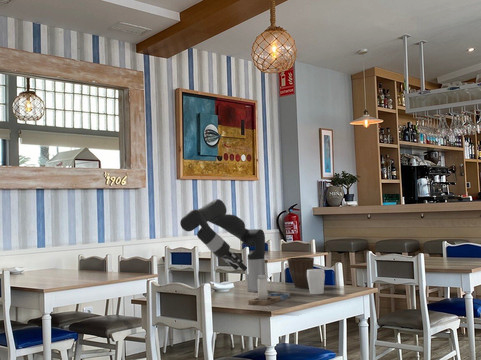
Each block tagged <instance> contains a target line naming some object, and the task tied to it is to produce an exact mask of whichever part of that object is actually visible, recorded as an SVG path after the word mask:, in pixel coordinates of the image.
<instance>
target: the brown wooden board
mask: <svg viewBox="0 0 481 360" xmlns="http://www.w3.org/2000/svg"><path fill="white" fill-rule="evenodd" d="M290 298H291V293H289V292H288V293H287V292H272V293H269V294H268V300H258V297H255V298H252V299H249V300H247V301H248V302H247V303H248V305H249V306H250V305H251V306H268V305H271V304H275V303H277V302H279V301H283V300H286V299H290Z"/></svg>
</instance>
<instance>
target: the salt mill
mask: <svg viewBox="0 0 481 360" xmlns="http://www.w3.org/2000/svg"><path fill="white" fill-rule="evenodd" d="M257 281H258V292H257V298H258V300H268V278H267V275H266V274H265V275H258V279H257Z"/></svg>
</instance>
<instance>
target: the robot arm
mask: <svg viewBox="0 0 481 360" xmlns="http://www.w3.org/2000/svg"><path fill="white" fill-rule="evenodd" d="M208 222H209V223H210V224H213V225H214V226H218V227H220V228H222V229H223V230H225V231H226V232H227V233H229V234H230V235H233V236H234V237H236V238H237V239H239V240H240V241H241V242H242V243H243V244H244V245H245V246H248V247H254V250H253V251H252V252H250V253H248V254H247V265H245V264H244V263H243V262H244V260H243V259H241V258H240V257H239V256H238V255H237V253H235V252H232V251H230V249H231V245H229V243H228V242H226V241H225V240H224V239H223V237H221V236H220V234H218V233H217V232H215V230H214V229H212V228H211V226H210V225H209V224H208ZM179 223H180V225H179V226H180V227H181V229H182V230H184V231H185V232H192V231H194V230H195V229H196V228H198V227H200V228H199V230H198V232H197V233H196V237H197V238H198V239H199V240H200V241H201V242H202V244H204V245H205V246H206V248H208V250H209V251H210V252H212V253H213V255H214V256H215V257H217V258H218V259H221V260H223V262H225V264H228V265H229V266H231V268H233V269H234V270H235V271H237V270H238V269H241V270H242V271H243V272H246V271H247V273H246V286H247V292H251V293H253V292H257V293H258V281H257V279H258V275H266V265H265V264H266V261H265V254H266V235H265V232H264V230H263V229H261V228H260V229H258V228H257V229H256V228H255V229H248V228H246V224H245V222H244V221H243V219H241V218H240V217H239V216H237V215H235V214H231V213H229V214H227V207H226V204H225V202H223V200H221V199H220V198H216V199H213V200H211V201H210V202H208V203H205V204H204V205H203V206H202V207H201V208H198V209H197V208H193V209H191V210H190V211H189V212H187V214H185V215H184V216H183V217H182V218H181V219H180V221H179Z"/></svg>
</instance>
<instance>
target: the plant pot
mask: <svg viewBox="0 0 481 360" xmlns="http://www.w3.org/2000/svg"><path fill="white" fill-rule="evenodd" d="M286 260H287V265H288V270H289V274H290V277H291V280H292V282H293V285H294V287H295V288H296V289H306V288H309V285H308V279H307V270H309V269H314V263H315V257H310V256H309V257H308V256H303V257H302V256H301V257H300V256H299V257H290V258H287V259H286Z"/></svg>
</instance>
